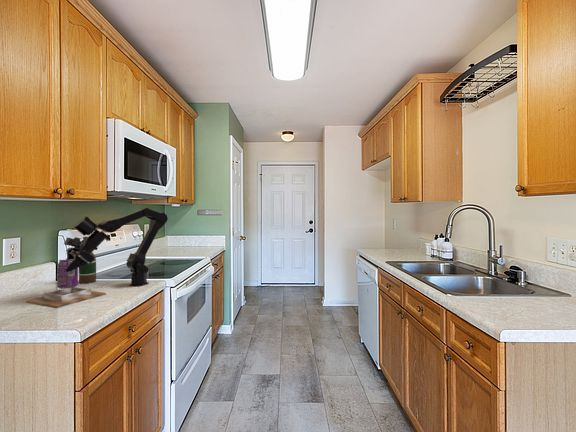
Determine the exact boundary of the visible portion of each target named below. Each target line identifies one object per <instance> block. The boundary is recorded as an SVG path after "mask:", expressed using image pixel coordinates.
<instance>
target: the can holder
mask: <svg viewBox="0 0 576 432" xmlns="http://www.w3.org/2000/svg"><path fill="white" fill-rule="evenodd" d="M105 295H107V292H104V291H103V292H102V291H96V290H92V289H91V288H86V287H85V288H84V287H77V286H76V287H73V288H65V289H56V290H53V291H47V292H44V293H43V295H42V296H39V297H35V298H30V299H26V301H25V302H26V303H29V304H33V305H40V306H46V307H50V308H55V309H58V308H62V307H66V306H70V305H73V304H76V303H77V304H78V303H80V302H83V301H84V302H85V301H87V300H90V299H94V298H99V297H102V296H105Z"/></svg>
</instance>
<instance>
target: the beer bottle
mask: <svg viewBox="0 0 576 432" xmlns="http://www.w3.org/2000/svg"><path fill="white" fill-rule="evenodd" d="M88 237H89V236H83V237H82V240H86V239H87V238H88ZM91 255H93V256H94V260H93V261H92V262H91V263H89V262H88V261H87V263H88V264H85V265H83V266H80V267H78V284H81V285H82V284H83V285H87V284H93V283H95V282H97V257H96V255H95V253H94V251H93V252H92V253H91Z"/></svg>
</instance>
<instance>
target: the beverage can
mask: <svg viewBox="0 0 576 432" xmlns="http://www.w3.org/2000/svg"><path fill="white" fill-rule="evenodd" d="M73 260H74V259H68V260H66V259H59V260H58V263H57V286H56V287H57V288H59V290H61V289H65V288H73V287H77V286H78V285H79V267H78V268H76V269H74V270H72V271H70V272H66V269H67V268H68V267H69V265H70V264H71V263H72V261H73Z"/></svg>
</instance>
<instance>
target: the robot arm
mask: <svg viewBox="0 0 576 432" xmlns="http://www.w3.org/2000/svg"><path fill="white" fill-rule="evenodd" d="M142 218H147V219H148V220H149V228H148V229H147V231H146V233H145V235H144V237H143V238H142V240H141V242H140V244H139V246H138V248H137V249H136V252H134V253H130V254H129V256H128V258H127V259H126V267H127V268H128V269H129V270H130V272H131V276H130V277H131V280H130V283H129V286H133V287H141V286H144V285H148V284H149V283H150V282H148V281H147V273H149V270H150V269H149V267H147V266H146V265H145V263H146V257H147V253H148V251H149V249H150V248H151V246H152V244H153V242H154V240H155V238H156V237H157V234H158V232H159V230H161V229H162V228H163V227H164V225H166V224H167V221H168V219H169V217H168V215H167V214H166V213H165V212H159V211H156V210H153V209H150V208H149V207H142V208H140V209H137V210H135V211H133V212H130V213H128V214H125V215H123V216H120V217H114V218H109V219H106V220H102V221H101V222H100V223H95V222H93V220H91V219H90V218H89V216H84V217H82V218H81V219H79V220H78V221H76V222H75V223H74V225H72V228H74V229H75V230H76V231H77V232H78V233H80V234H81V235H83V236H86V235H87V237H88V238H87V239H86V240H83V239H82V240H81V238H80V237H77V236H74V238H71V237H67V236H66V238H65V241H64V243H63V245H65V246H68V248H67V249H66V250H65V252H66V258H65V260H68V259H74V260H73V261H72V263H71V264H70V265H69V267H68V268H67V269H66V272H70V271H72V270H74V269H76V268H78V269H79V267H80V266H83V265H85V264H88V263H87V261H88V262H89V263H91V262H92V261H93V260H94V256H93V255H91V253H92V252H93V253H94V251H97V250H98V248H99V246H100V245H101V244H102V243H103V242H104V241H105V240H106V241H111V234H107V233H115V232H116V231H119V230H120V229H121V228H122V227H124V226H125V225H127V224H129V223H132V222H135V221H136V220H139V219H142ZM100 230H101V231H100Z"/></svg>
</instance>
